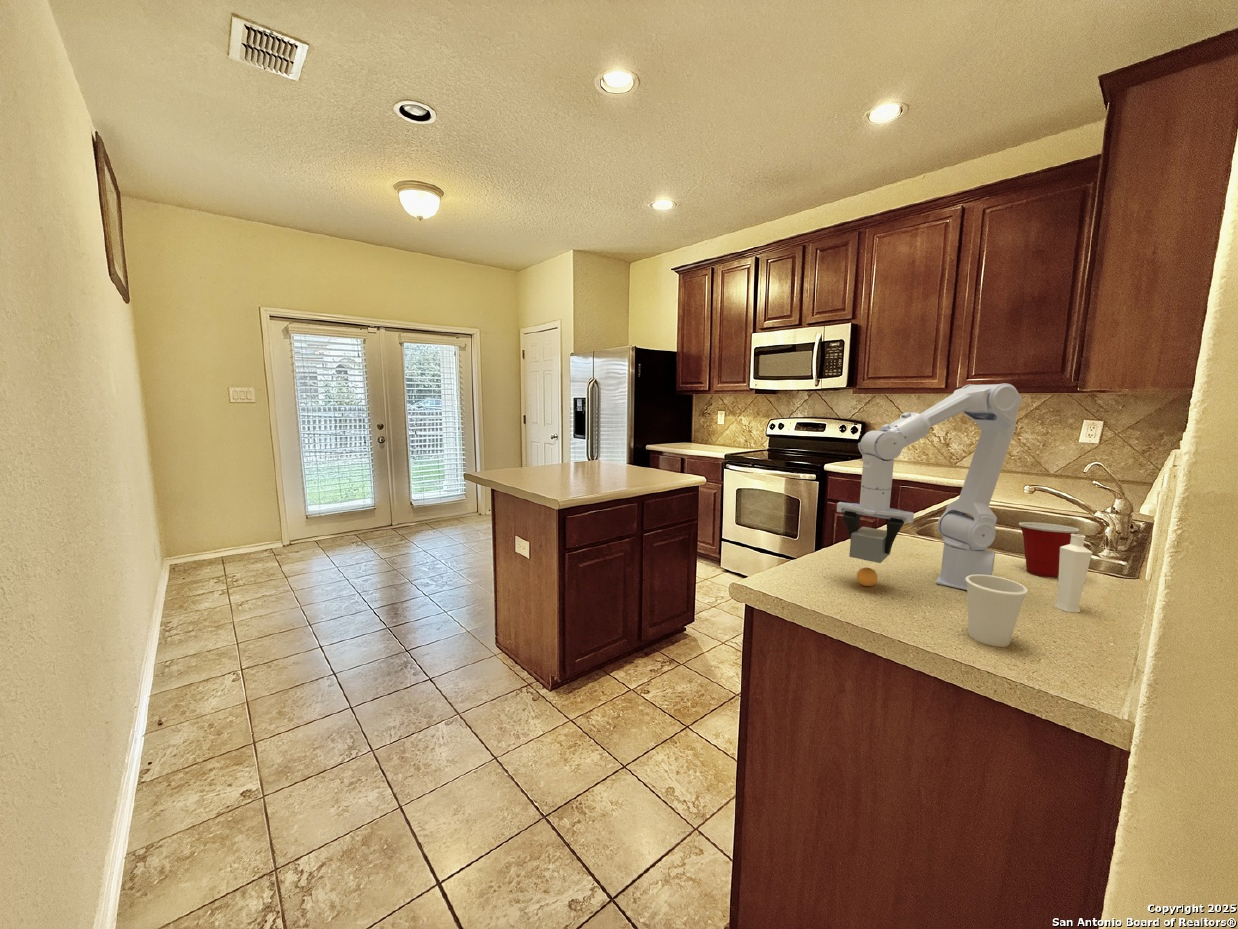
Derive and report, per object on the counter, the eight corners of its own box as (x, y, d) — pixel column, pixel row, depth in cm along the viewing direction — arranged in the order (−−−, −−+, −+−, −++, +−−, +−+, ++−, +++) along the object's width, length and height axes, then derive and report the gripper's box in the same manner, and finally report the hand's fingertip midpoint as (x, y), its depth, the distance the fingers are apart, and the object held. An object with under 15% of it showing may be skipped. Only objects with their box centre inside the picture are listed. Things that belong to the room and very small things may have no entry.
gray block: (890, 553, 107) (892, 531, 106) (880, 563, 100) (882, 539, 99) (860, 548, 111) (862, 526, 110) (849, 556, 104) (851, 534, 103)
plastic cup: (1048, 566, 121) (1055, 519, 119) (1085, 583, 110) (1093, 531, 109) (1001, 564, 122) (1007, 518, 120) (1033, 580, 111) (1040, 529, 110)
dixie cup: (1033, 648, 81) (1041, 590, 79) (991, 653, 79) (999, 594, 77) (985, 625, 89) (992, 572, 87) (947, 629, 87) (953, 575, 86)
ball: (872, 586, 103) (876, 590, 106) (877, 568, 104) (881, 572, 107) (852, 581, 106) (857, 584, 109) (857, 563, 107) (861, 567, 110)
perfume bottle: (1077, 615, 93) (1089, 540, 91) (1048, 606, 97) (1059, 534, 95) (1087, 611, 95) (1099, 537, 93) (1059, 602, 99) (1070, 531, 97)
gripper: (834, 485, 105) (829, 546, 107) (911, 495, 95) (904, 561, 97) (844, 481, 110) (839, 539, 112) (918, 490, 101) (911, 553, 103)
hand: (870, 549), depth 105 cm, fingers closed on gray block, 6 cm apart
